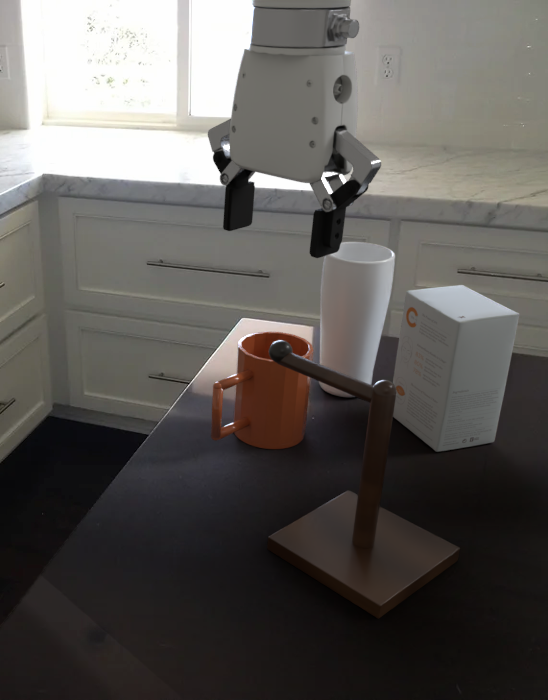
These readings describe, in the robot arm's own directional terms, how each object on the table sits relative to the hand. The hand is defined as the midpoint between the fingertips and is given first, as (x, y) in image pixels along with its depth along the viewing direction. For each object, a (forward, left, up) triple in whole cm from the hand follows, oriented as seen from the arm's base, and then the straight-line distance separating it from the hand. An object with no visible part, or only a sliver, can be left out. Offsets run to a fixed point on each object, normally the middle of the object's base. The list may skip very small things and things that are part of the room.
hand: (278, 240), depth 75 cm
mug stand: (+9, +15, -19) cm, 26 cm away
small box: (-13, +10, -19) cm, 26 cm away
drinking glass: (-13, -1, -19) cm, 23 cm away
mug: (+2, 0, -19) cm, 19 cm away
